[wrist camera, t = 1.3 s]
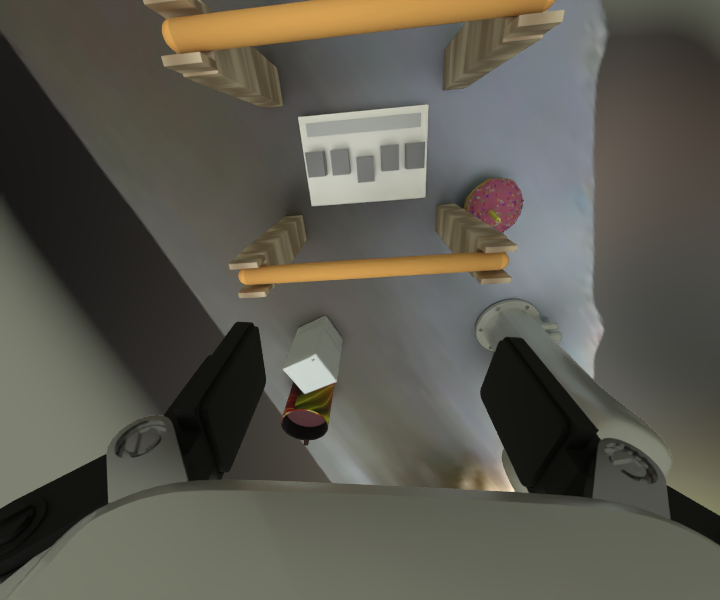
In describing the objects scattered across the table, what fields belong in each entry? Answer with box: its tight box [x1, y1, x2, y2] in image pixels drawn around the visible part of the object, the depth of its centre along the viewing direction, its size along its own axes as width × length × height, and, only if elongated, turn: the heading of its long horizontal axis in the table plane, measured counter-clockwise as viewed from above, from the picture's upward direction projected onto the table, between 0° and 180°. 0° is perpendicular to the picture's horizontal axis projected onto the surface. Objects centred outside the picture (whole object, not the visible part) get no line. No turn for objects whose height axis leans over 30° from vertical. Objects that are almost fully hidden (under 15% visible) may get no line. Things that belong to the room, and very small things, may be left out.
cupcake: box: [463, 178, 524, 233], centre depth 41 cm, size 9×8×12 cm
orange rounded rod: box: [162, 0, 555, 54], centre depth 20 cm, size 29×2×2 cm, turn 94°
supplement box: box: [283, 316, 343, 394], centre depth 54 cm, size 7×7×13 cm
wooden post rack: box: [143, 0, 565, 298], centre depth 34 cm, size 29×24×22 cm
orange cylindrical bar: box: [239, 252, 509, 285], centre depth 30 cm, size 29×2×2 cm, turn 94°
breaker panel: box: [298, 105, 428, 206], centre depth 41 cm, size 18×12×6 cm, turn 94°
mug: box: [281, 382, 334, 446], centre depth 63 cm, size 10×14×12 cm
